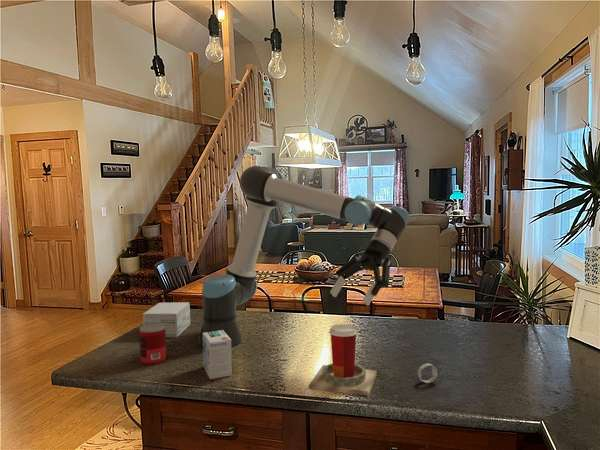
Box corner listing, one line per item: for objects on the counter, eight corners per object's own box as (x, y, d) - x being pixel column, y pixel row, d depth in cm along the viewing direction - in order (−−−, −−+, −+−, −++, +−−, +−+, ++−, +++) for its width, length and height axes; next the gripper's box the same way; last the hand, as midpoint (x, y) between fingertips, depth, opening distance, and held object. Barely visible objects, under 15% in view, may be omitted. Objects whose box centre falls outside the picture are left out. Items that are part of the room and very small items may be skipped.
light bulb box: (202, 366, 136) (201, 332, 135) (224, 363, 138) (223, 329, 138) (209, 379, 126) (208, 342, 125) (233, 375, 128) (232, 339, 128)
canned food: (171, 357, 144) (170, 324, 143) (155, 366, 136) (154, 331, 136) (151, 355, 146) (150, 322, 146) (135, 363, 139) (134, 329, 138)
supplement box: (159, 324, 182) (158, 302, 182) (190, 324, 182) (190, 302, 181) (142, 337, 166) (141, 313, 165) (177, 337, 165) (176, 312, 164)
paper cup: (357, 371, 126) (356, 323, 126) (358, 383, 119) (357, 331, 118) (329, 371, 127) (329, 323, 126) (329, 382, 120) (328, 331, 119)
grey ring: (438, 383, 121) (438, 365, 120) (421, 385, 120) (421, 367, 119) (432, 379, 124) (432, 361, 123) (416, 380, 123) (416, 363, 122)
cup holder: (309, 388, 119) (309, 376, 119) (323, 368, 132) (322, 358, 132) (368, 395, 114) (368, 383, 114) (376, 374, 127) (376, 363, 127)
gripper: (417, 258, 137) (386, 314, 128) (356, 249, 156) (326, 298, 147) (407, 242, 133) (375, 299, 124) (346, 235, 152) (314, 284, 143)
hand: (348, 298), depth 136 cm, fingers open, 13 cm apart
